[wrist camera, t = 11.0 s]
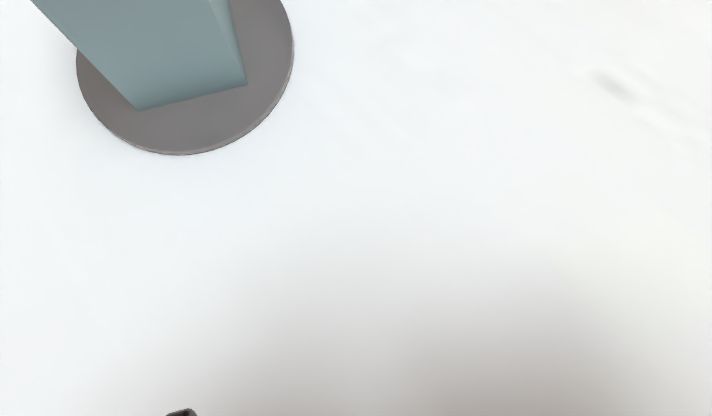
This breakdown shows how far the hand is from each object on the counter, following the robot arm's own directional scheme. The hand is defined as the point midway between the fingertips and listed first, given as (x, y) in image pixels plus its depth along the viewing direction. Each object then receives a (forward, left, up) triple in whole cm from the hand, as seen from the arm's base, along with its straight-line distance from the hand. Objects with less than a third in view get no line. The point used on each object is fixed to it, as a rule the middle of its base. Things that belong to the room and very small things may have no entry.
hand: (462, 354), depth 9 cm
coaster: (+2, +17, -14) cm, 22 cm away
